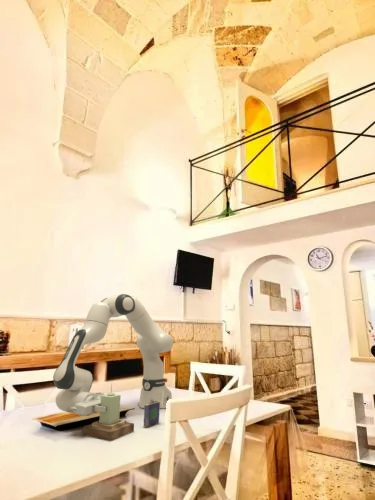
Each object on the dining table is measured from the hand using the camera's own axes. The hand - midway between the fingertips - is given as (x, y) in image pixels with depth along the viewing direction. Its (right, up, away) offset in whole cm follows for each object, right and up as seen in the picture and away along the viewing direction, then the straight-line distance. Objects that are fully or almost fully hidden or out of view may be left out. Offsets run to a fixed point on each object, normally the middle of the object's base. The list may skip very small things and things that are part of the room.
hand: (112, 407), depth 132 cm
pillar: (-1, -5, -1) cm, 6 cm away
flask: (+15, -13, +10) cm, 22 cm away
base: (-1, -9, -2) cm, 10 cm away
